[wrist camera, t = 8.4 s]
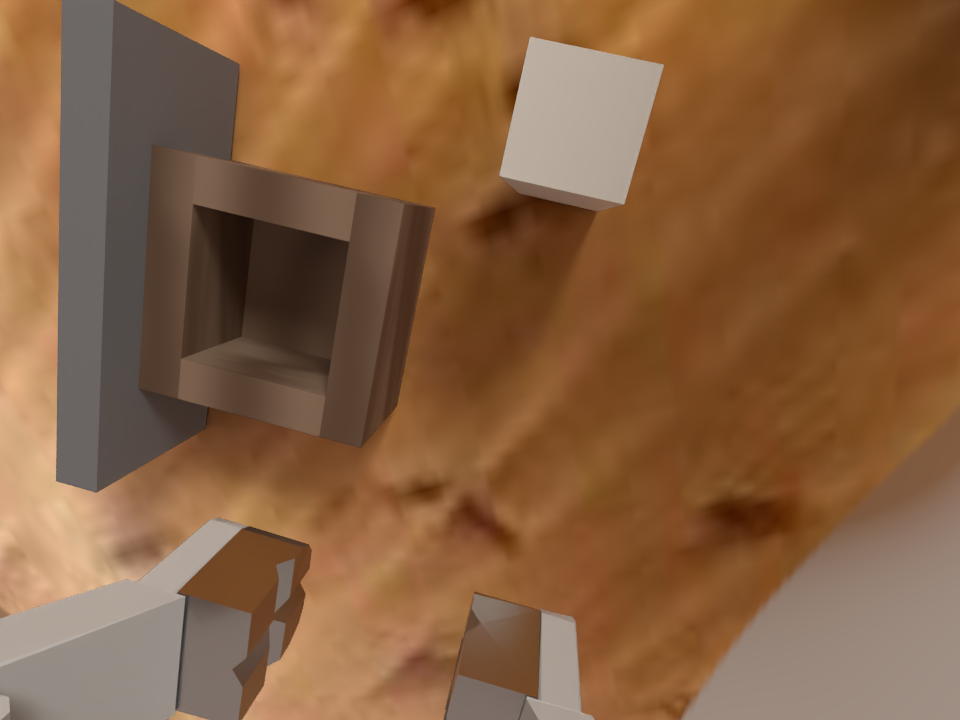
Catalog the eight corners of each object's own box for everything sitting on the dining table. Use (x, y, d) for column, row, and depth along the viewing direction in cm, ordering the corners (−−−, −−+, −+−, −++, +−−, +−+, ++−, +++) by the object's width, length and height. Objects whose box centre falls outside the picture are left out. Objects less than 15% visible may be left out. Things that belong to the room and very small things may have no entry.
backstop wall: (239, 64, 27) (113, -1, 19) (205, 428, 32) (96, 492, 24) (202, 55, 27) (62, -12, 19) (174, 419, 32) (56, 481, 25)
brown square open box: (435, 207, 28) (404, 203, 22) (396, 405, 30) (360, 447, 25) (233, 160, 28) (152, 144, 23) (215, 357, 31) (138, 388, 25)
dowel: (621, 125, 25) (664, 64, 16) (597, 211, 26) (624, 204, 17) (538, 107, 26) (530, 36, 16) (518, 193, 27) (499, 176, 17)
